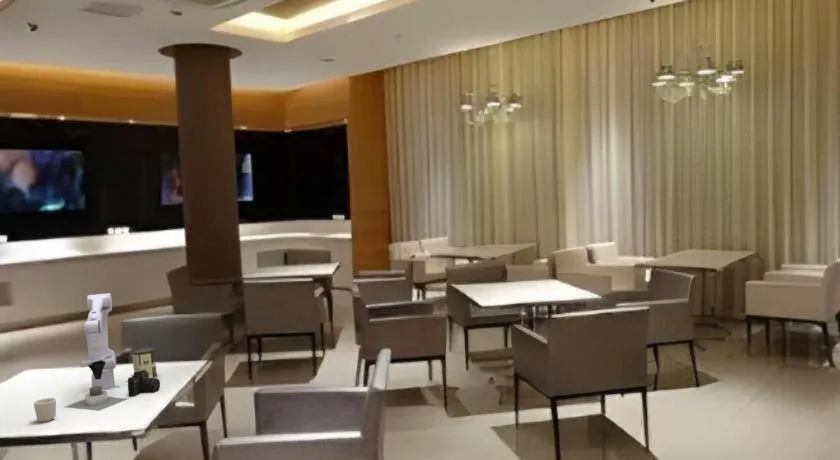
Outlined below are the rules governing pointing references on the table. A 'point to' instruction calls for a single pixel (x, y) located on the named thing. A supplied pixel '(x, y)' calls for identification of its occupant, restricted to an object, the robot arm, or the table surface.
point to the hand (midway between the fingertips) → (98, 378)
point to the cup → (45, 409)
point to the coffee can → (145, 361)
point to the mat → (109, 403)
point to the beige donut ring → (96, 399)
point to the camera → (142, 383)
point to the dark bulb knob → (95, 390)
